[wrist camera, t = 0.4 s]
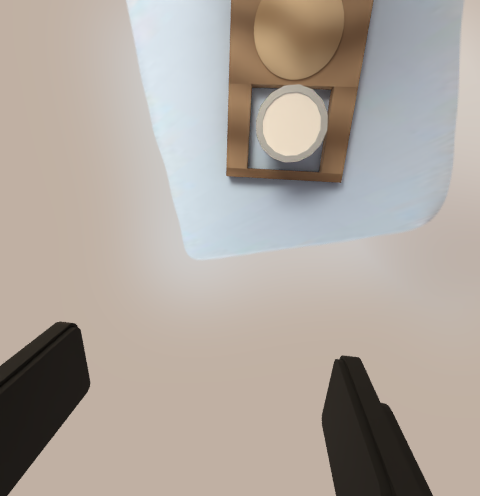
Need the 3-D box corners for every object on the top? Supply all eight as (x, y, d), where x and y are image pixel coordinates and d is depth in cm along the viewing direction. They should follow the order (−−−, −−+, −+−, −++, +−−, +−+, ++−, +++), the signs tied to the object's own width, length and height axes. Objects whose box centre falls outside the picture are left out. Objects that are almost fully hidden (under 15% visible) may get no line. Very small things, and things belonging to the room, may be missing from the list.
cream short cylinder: (265, 167, 33) (264, 170, 26) (252, 109, 31) (248, 96, 24) (320, 152, 32) (333, 152, 25) (310, 91, 29) (322, 73, 23)
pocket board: (234, -25, 27) (231, -37, 25) (373, -26, 26) (381, -38, 24) (228, 175, 34) (225, 176, 32) (337, 181, 32) (341, 182, 31)
